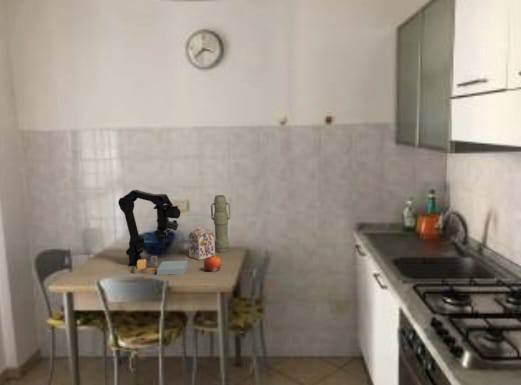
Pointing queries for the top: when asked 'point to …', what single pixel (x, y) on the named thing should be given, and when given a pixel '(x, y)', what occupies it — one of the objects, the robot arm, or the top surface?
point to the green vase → (220, 223)
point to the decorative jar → (201, 243)
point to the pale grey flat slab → (172, 267)
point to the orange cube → (141, 264)
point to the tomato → (212, 263)
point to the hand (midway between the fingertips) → (163, 244)
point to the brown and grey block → (148, 267)
